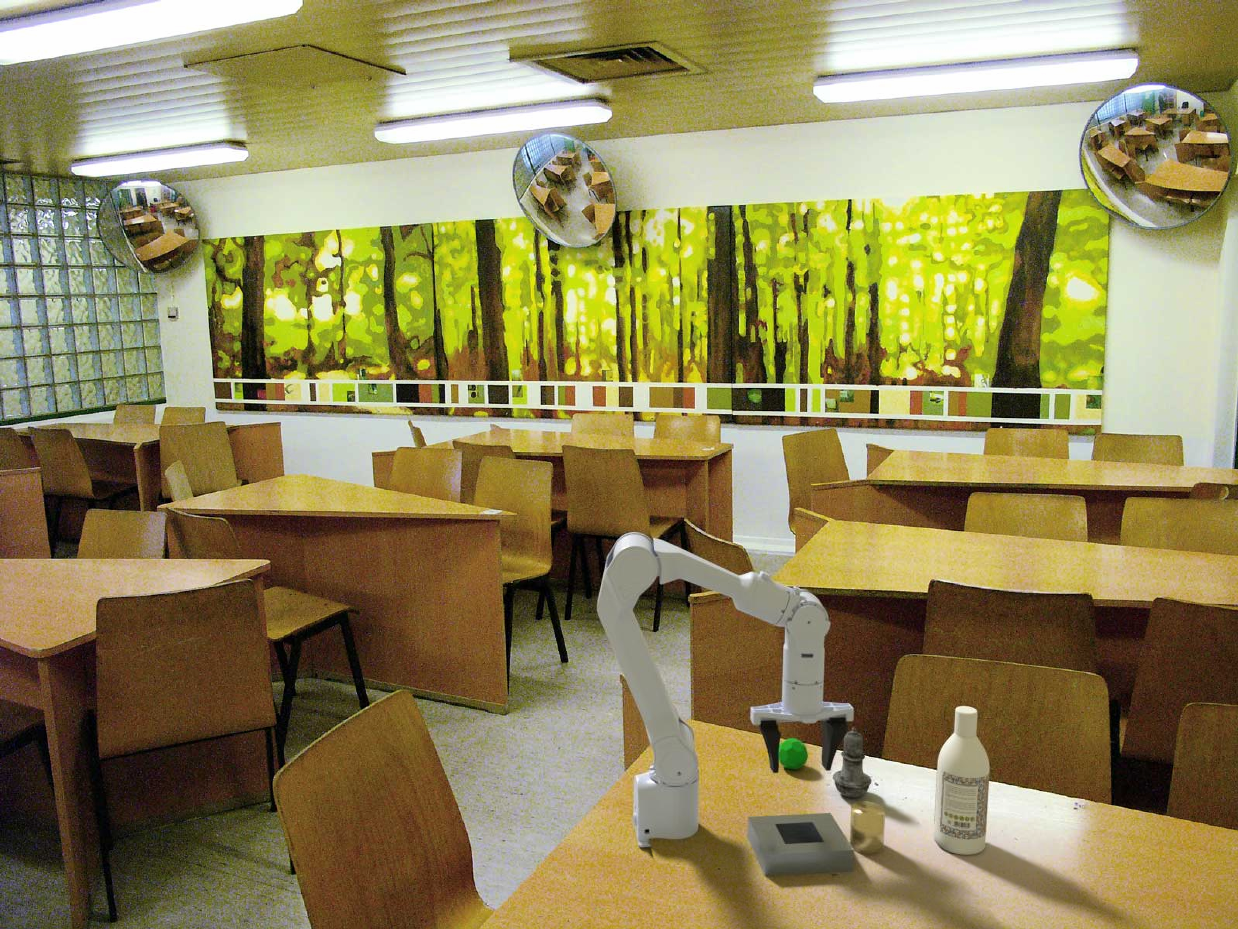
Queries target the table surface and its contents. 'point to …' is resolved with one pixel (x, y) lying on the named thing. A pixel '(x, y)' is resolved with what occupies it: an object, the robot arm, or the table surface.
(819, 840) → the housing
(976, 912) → the table surface
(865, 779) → the grey chess piece
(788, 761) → the polyhedron
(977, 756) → the bath foam
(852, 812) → the plug
